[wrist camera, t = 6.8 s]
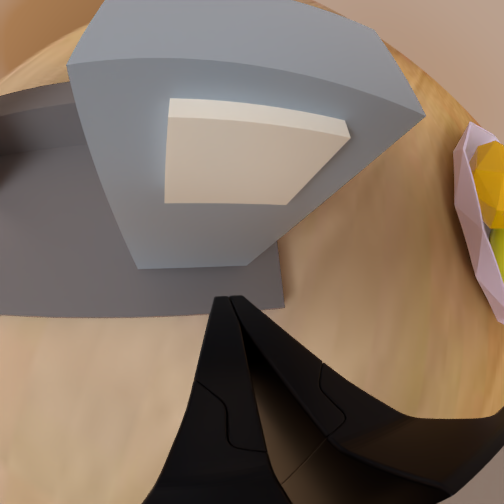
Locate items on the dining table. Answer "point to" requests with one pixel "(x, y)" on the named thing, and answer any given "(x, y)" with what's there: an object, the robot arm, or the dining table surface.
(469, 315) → the dining table surface
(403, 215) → the dining table surface
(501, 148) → the fruit bowl
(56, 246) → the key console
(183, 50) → the slate key
